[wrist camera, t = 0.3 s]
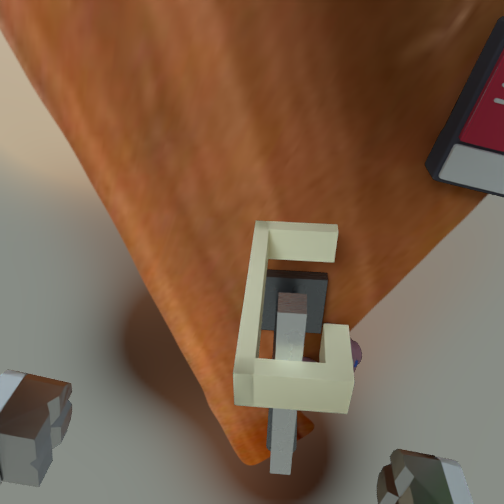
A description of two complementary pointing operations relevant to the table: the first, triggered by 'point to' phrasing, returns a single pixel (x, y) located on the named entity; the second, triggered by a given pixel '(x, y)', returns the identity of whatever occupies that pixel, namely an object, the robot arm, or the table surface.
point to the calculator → (476, 127)
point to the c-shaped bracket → (284, 371)
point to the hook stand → (290, 344)
